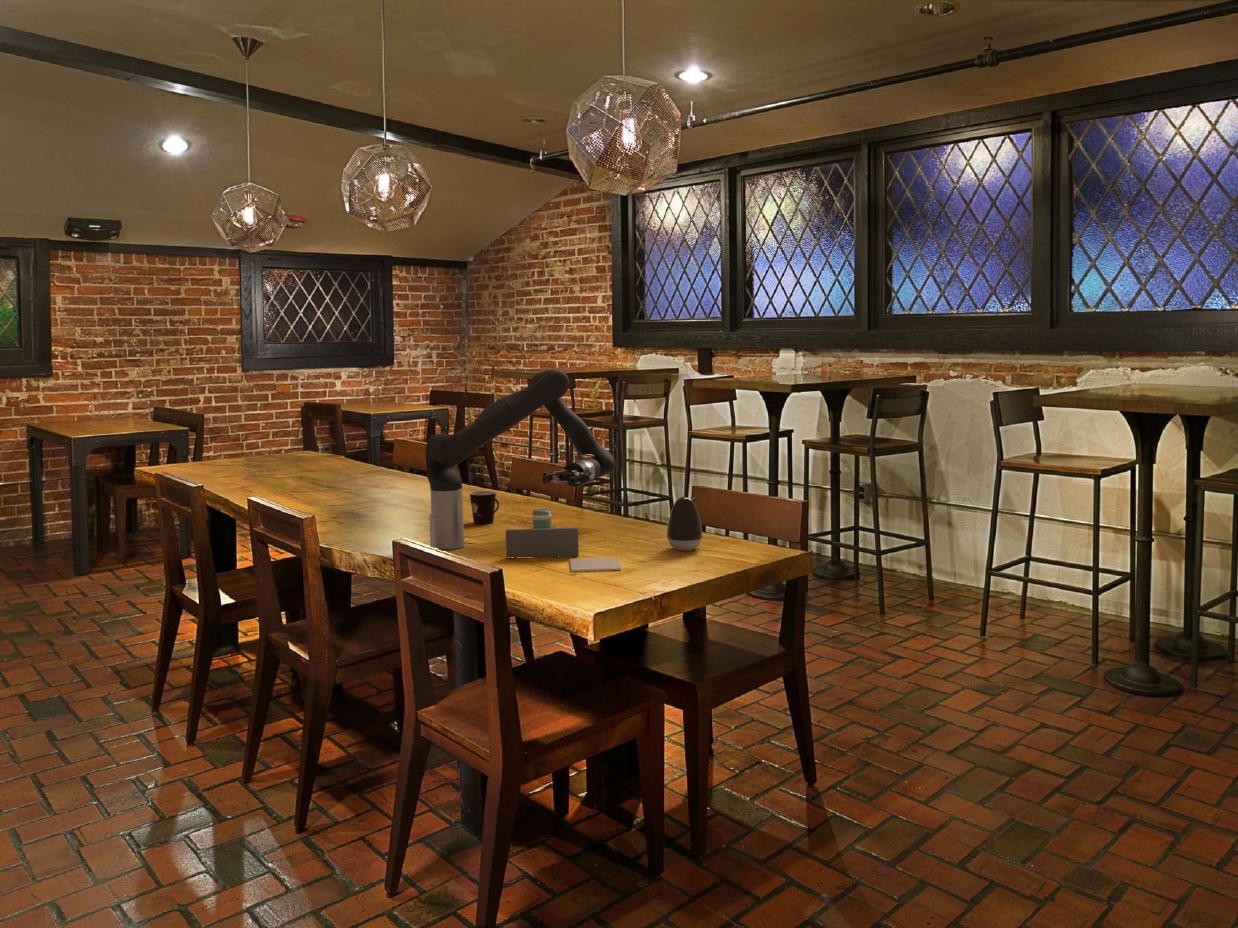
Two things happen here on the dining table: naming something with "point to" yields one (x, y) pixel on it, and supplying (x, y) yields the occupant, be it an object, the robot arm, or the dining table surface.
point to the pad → (594, 564)
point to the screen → (542, 542)
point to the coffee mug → (483, 506)
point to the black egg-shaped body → (684, 525)
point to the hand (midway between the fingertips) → (557, 480)
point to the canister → (541, 518)
